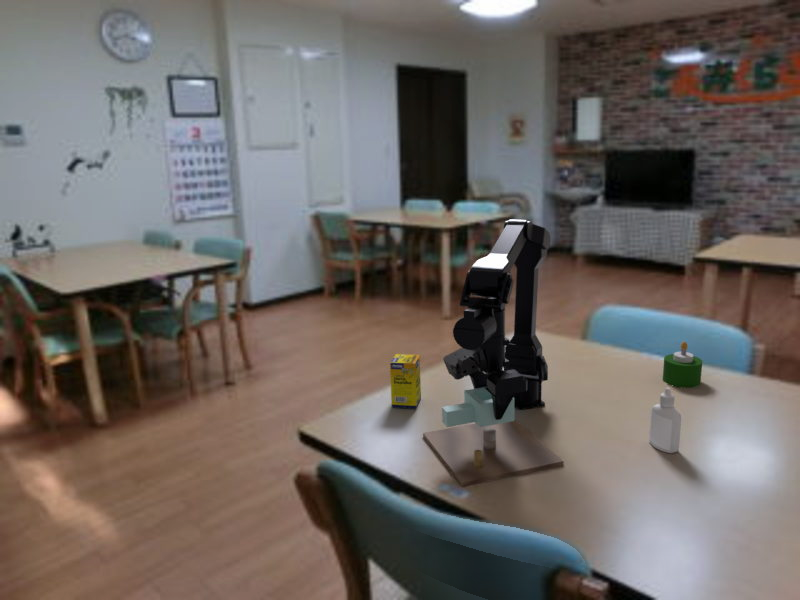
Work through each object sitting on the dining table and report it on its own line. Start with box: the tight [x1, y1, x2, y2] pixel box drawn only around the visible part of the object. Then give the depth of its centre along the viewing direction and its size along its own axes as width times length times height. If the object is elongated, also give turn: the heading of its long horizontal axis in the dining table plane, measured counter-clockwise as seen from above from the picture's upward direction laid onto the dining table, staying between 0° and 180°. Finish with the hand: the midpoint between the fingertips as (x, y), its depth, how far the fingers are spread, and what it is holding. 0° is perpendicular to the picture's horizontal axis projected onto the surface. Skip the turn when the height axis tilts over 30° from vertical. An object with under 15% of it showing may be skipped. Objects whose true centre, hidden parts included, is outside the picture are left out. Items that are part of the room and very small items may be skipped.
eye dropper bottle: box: [648, 387, 682, 454], centre depth 115 cm, size 4×6×12 cm
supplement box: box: [389, 353, 422, 410], centre depth 140 cm, size 6×6×11 cm
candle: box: [662, 341, 703, 389], centre depth 146 cm, size 8×8×10 cm
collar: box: [441, 387, 515, 428], centre depth 115 cm, size 12×7×4 cm, turn 107°
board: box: [422, 418, 565, 487], centre depth 118 cm, size 20×20×4 cm
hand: (489, 411), depth 116 cm, fingers closed on collar, 7 cm apart
